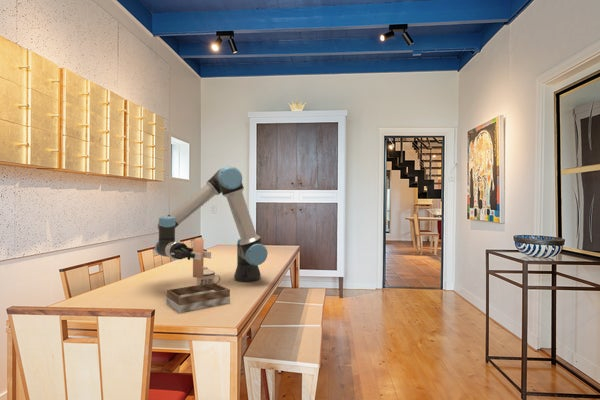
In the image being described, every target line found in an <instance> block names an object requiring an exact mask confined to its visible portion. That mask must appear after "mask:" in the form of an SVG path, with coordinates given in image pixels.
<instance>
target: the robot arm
mask: <svg viewBox="0 0 600 400" xmlns="http://www.w3.org/2000/svg"><path fill="white" fill-rule="evenodd" d="M205 183H206V184H205V185H204V186H203V187H201V188H200V189H198V190H197V191H196V192H195V193H194V194H192V195H191V196H190V197H189V198H188V199H186V200H185V201H184V202H183V203H181V204H180V205H179V206H177V207H176V208H175V209H174V210H172V211H171V212H170V213H169V214H167V215H166V216H160V217H159V218H158V223H157V229H158V241H157V242H156V243H155V246H154V250H155V253H156V254H157V255H158V256H159V255H160V256H161V257H167V258H172V260H184V259H187V260H188V261H190V260H191V259H192V260H193V259H197V260H201V253H196V252H193V247H188V245H187V244H186V243H184V242H183V243H182V242H179V241H178V242H177V241H176V228H177V227H179V226H180V224H182V223H183V222H184V221H186V220H187V219H188V218H189V217H190V216H191V215H193V214H195V212H197V211H198V210H199V209H200V208H201V207H203V206H204V205H205V204H206V203H207V202H209V201H210V200H212V198H214V197H215V196H219V195H220V194H222V196H223V197H225V198H226V201H227V202H228V206H229V208H230V211H231V215H232V217H233V220H234V223H235V226H236V230H237V232H238V234H239V239H237V243H236V254H237V255H236V256H237V257H236V260H237V261H236V262H237V263H236V269H235V272H234V274H233V279H234V281H237V282H246V283H247V282H255V281H259V280H261V278H262V274H261V271H260V268H259V266H260V265H262V264H263V263H265V262H266V260H267V258H268V249H267V247H266V246H265V245H264V244H263V241H262V238H261V236H260V235H258V234H257V232H256V229H255V225H254V223H253V220H252V218H251V214H250V211H249V208H248V205H247V203H246V200H245V197H244V194H243V193H244V190H245V187H244V184H243V175H242V173H241V171H240V169H238V168H237V167H235V166H231V165H230V166H229V165H227V166H225V167H222V168H220V169H219V170H217V171H216V172H215V173H214V174H213V176H212V177H211V178H209V179H208V180H207V181H206V182H205ZM204 258H206V259H208V260H209V259H212V251H208V250H207V249H204Z"/></svg>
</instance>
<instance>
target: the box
mask: <svg viewBox="0 0 600 400" xmlns="http://www.w3.org/2000/svg"><path fill="white" fill-rule="evenodd" d="M216 283H217V282H214V283H209V284H202V285H197V284H196V285H190V286H184V287H177V288H172V289H171V288H170V289H166V304H167V306H169V307H170V308H172V309H173V310H174V311H176V312H177V313H178V314H183V313H188V312H193V311H197V310H203V309H207V308H213V307H219V306H222V305H229V304H230V303H231V290H230V288H227V287H226V286H223V285H221V284H219V283H218V284H216Z"/></svg>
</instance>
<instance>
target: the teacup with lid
mask: <svg viewBox="0 0 600 400" xmlns="http://www.w3.org/2000/svg"><path fill="white" fill-rule="evenodd" d="M215 277H218V281H217V282H215ZM221 279H222V277H221V276H220V275H219V274H216V272H215V270H212V269H211V268H209V267H208V266H203V277H199V278H196V285H202V284H209V283H216V284H218V285H219V283H220V282H221Z"/></svg>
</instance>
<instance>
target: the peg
mask: <svg viewBox="0 0 600 400" xmlns="http://www.w3.org/2000/svg"><path fill="white" fill-rule="evenodd" d="M204 241H205V239H203V238H195V239H193V240H192V248H193V252H196V253H201V260H197V259H192V278H194V279H195V278H196V279H197V278H199V277H203V269H204V250H205V247H204V243H205V242H204Z"/></svg>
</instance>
